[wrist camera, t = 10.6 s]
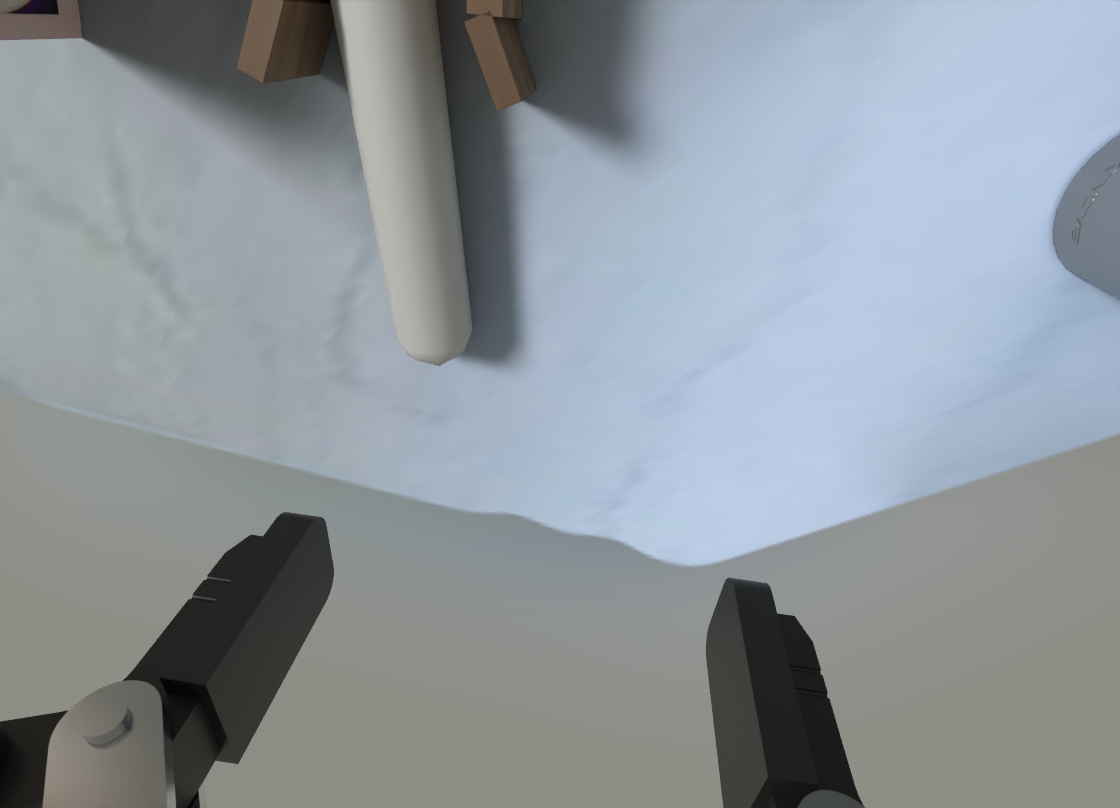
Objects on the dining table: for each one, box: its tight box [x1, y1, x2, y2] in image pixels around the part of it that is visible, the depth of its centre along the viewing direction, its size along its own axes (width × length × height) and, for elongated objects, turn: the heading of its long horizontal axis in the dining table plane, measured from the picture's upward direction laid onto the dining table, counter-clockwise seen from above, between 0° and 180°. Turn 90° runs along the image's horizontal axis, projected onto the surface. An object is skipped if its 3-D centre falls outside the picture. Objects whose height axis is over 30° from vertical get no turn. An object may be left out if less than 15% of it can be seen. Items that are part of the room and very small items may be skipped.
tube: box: [330, 0, 473, 366], centre depth 32 cm, size 5×5×25 cm
